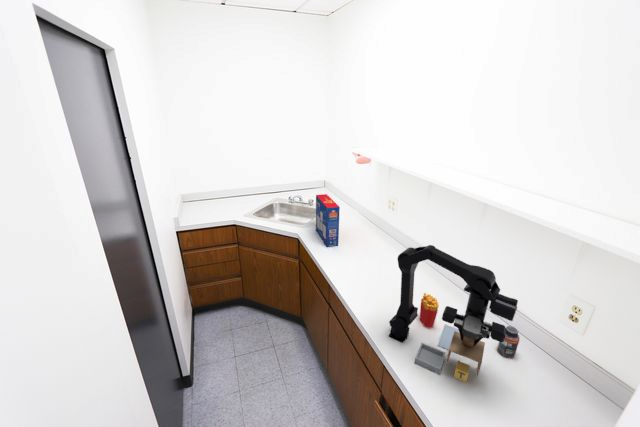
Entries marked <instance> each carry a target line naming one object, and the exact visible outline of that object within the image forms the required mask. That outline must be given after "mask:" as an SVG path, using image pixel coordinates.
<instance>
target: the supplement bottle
mask: <svg viewBox="0 0 640 427" xmlns="http://www.w3.org/2000/svg"><path fill="white" fill-rule="evenodd" d="M505 327H506V334H505V339H504V342H499V341H498V342H497V343H498V344H497V352H498V353H499V354H500V355H501V356H503V357H505V358H509V359H510V358H511V359H513V358H514V357H515V356H516V353H517V349H518V346H519V343H520V335H519V330H518V329H517V328H516V327H514V326H512V325H507V326H505Z"/></svg>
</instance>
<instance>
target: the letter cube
mask: <svg viewBox="0 0 640 427" xmlns="http://www.w3.org/2000/svg"><path fill="white" fill-rule="evenodd" d="M470 366H471V365H470V364H467V363H465V362H463V361H460V360H457V362H456V366H455V370H454V375H453V377H454V378H456V379H458V380H461V381H463V382H465V383H467V380H468V377H469V372H470V368H471V367H470Z"/></svg>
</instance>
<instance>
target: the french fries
mask: <svg viewBox="0 0 640 427" xmlns="http://www.w3.org/2000/svg"><path fill="white" fill-rule="evenodd" d="M438 308H439V302H438V299H437V298H436V297H434V296H433V295H431V294H428V293H426V292H424V293H423V295H422V298H421V300H420V311H419V321H420V323H421V324H422V325H423V326H424V327H426V328H428V329H431V328H433V327H434V325H435V322H436V321H435V320H436V317H437V316H438V315H437V314H438V311H439V310H438Z"/></svg>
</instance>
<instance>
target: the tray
mask: <svg viewBox="0 0 640 427" xmlns="http://www.w3.org/2000/svg"><path fill="white" fill-rule="evenodd" d="M416 352H417V353H416V355H415V357H414V363H413V364H414V365H417V366H419V367H422V368H424V369H426V370H428V371H430V372H432V373H435V374H437V375H440V374H441V370H442V367H443V364H444V360H445V358H446V357H445V356H446V353H447V352H446V351H443V350H441V349H439V348H436V347H434V346H431V345H430V344H429V345H428V344H427V343H424V342H421V343H420V345H419V347H418V350H417V351H416Z"/></svg>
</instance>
